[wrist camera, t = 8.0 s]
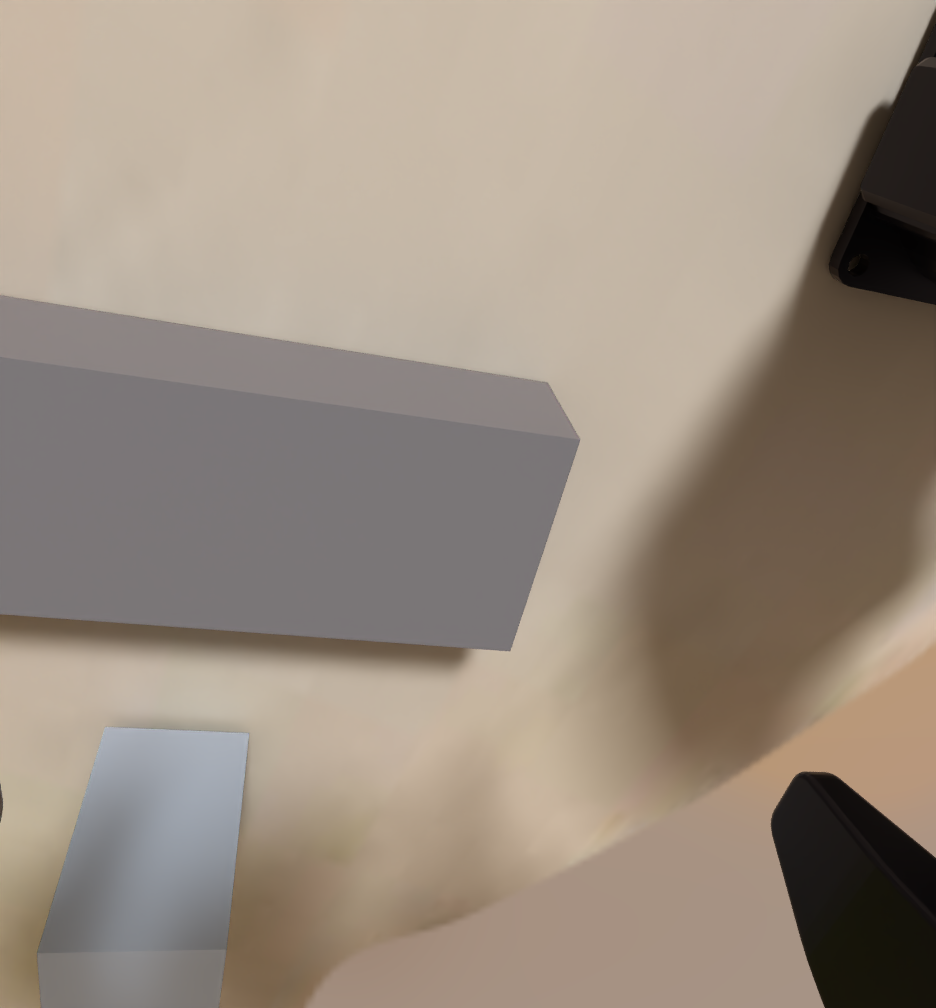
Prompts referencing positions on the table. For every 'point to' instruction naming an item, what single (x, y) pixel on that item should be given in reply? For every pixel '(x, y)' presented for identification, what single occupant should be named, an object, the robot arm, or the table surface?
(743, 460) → the table surface
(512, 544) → the power strip
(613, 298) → the table surface
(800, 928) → the robot arm
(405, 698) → the table surface
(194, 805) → the block
